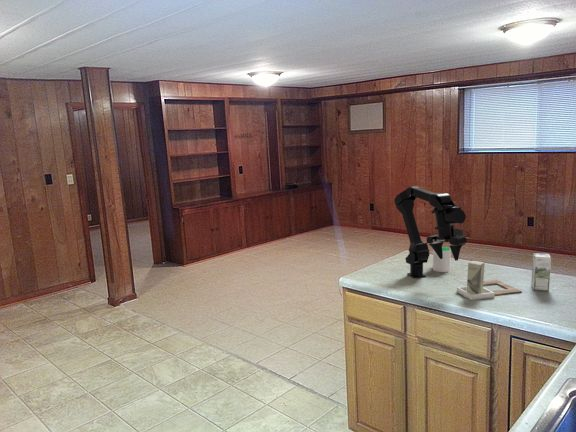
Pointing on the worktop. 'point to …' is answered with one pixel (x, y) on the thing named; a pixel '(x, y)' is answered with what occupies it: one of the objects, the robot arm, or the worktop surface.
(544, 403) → the worktop surface
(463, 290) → the white tray
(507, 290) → the walnut frame
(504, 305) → the worktop surface
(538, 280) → the syrup box
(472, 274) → the box
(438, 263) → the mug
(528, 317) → the worktop surface
